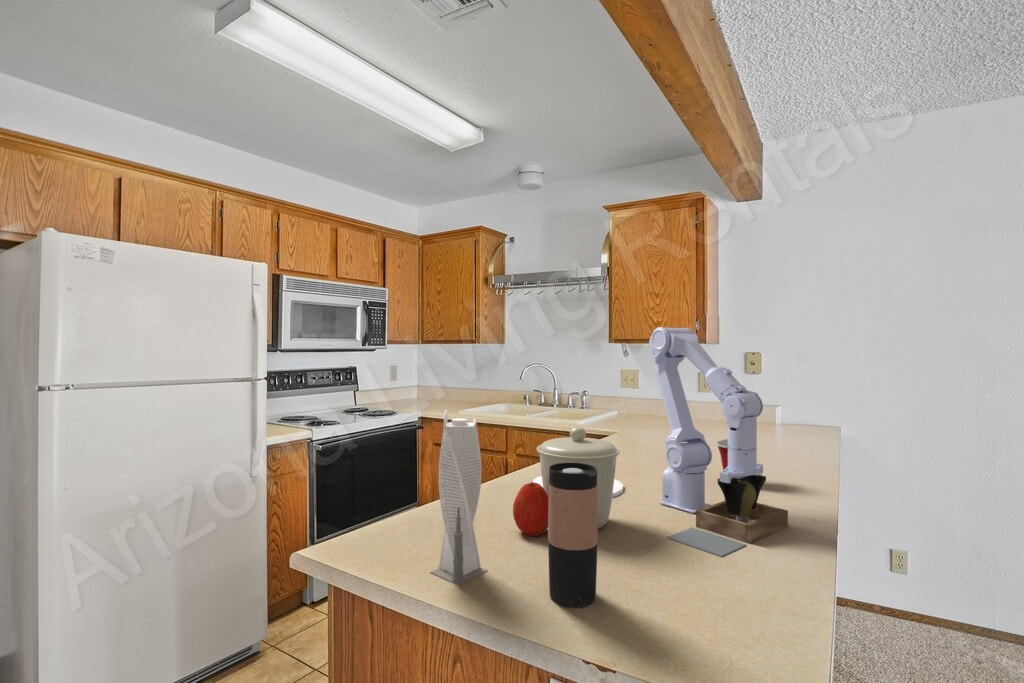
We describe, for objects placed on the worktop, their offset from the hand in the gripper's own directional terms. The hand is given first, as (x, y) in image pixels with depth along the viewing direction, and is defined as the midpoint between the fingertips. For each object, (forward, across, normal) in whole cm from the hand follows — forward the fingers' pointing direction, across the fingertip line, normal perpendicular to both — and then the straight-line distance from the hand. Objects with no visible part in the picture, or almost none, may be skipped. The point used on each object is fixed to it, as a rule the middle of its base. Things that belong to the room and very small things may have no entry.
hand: (742, 510), depth 112 cm
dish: (+4, -6, +44) cm, 45 cm away
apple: (+4, -38, +25) cm, 46 cm away
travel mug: (+4, -51, 0) cm, 51 cm away
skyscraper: (+4, -60, +19) cm, 63 cm away
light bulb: (+4, 0, 0) cm, 4 cm away
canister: (+4, -27, +23) cm, 36 cm away
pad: (+3, -14, 0) cm, 14 cm away
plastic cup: (+4, +32, +19) cm, 37 cm away
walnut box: (+3, 0, 0) cm, 3 cm away
